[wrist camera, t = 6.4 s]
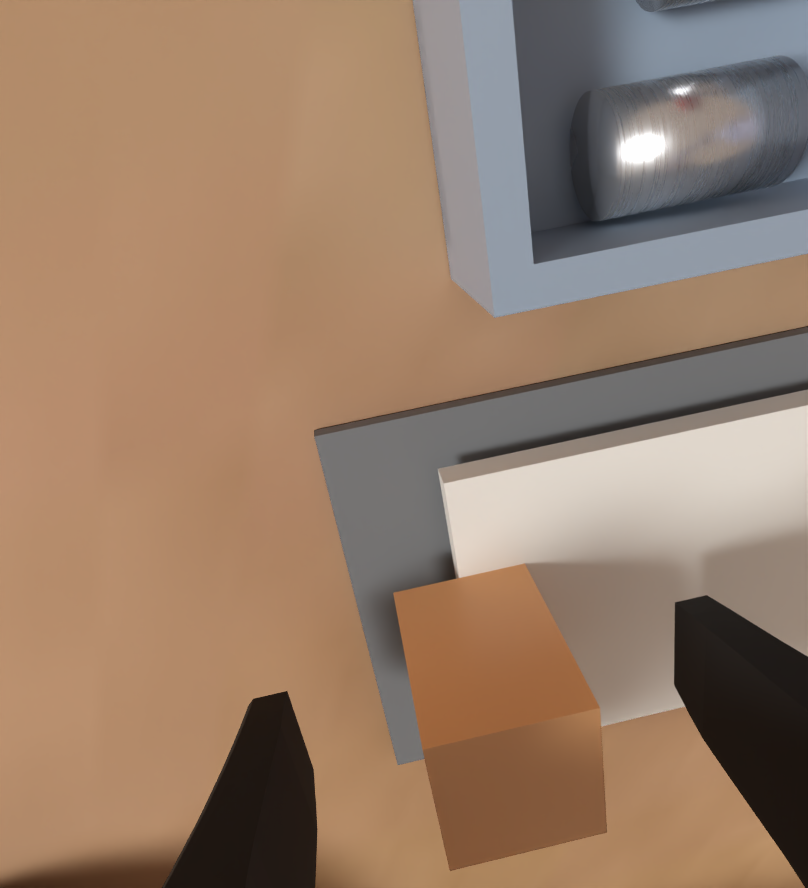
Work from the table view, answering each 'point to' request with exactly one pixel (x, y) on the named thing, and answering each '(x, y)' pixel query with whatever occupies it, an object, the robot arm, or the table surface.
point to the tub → (548, 144)
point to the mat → (493, 434)
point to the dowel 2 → (688, 137)
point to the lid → (591, 606)
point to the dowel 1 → (666, 4)
